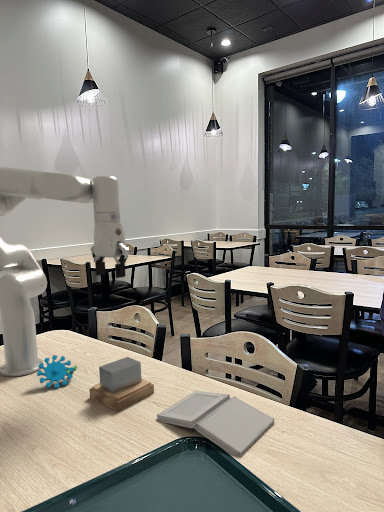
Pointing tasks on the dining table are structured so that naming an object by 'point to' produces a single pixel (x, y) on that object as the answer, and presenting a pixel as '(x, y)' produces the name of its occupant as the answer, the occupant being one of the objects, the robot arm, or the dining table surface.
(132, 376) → the grey rectangular block
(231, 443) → the grey folded flat piece
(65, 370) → the gear
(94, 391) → the stand
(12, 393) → the dining table surface
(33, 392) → the dining table surface
